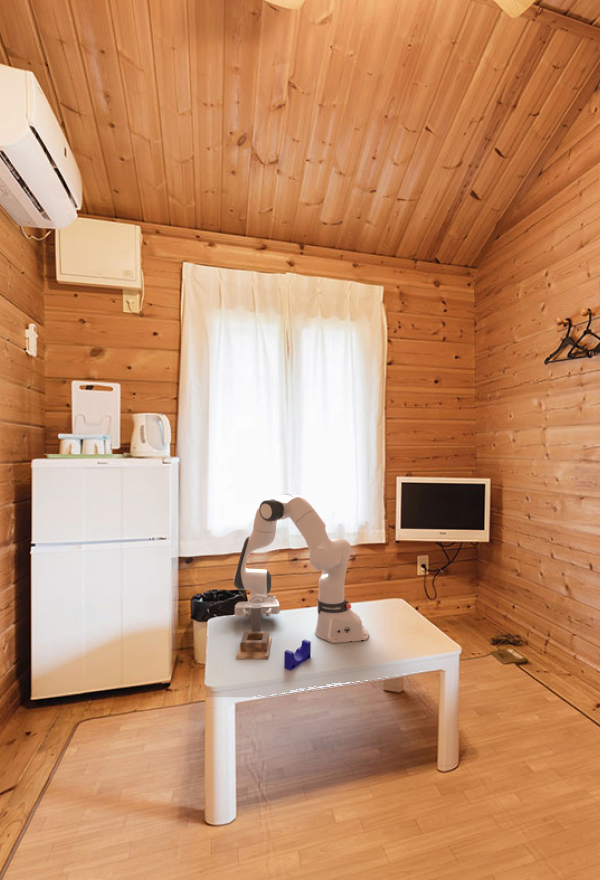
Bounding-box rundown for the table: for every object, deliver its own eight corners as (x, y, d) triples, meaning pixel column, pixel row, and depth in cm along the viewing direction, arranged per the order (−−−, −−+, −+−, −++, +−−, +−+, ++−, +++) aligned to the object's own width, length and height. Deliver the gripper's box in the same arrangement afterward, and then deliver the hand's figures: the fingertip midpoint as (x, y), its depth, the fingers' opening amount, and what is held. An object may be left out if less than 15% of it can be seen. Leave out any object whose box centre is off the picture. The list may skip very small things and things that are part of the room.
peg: (260, 633, 172) (261, 604, 172) (260, 637, 168) (260, 607, 168) (251, 633, 171) (251, 604, 172) (251, 637, 168) (251, 608, 168)
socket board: (271, 639, 166) (271, 628, 166) (268, 658, 150) (268, 646, 150) (242, 639, 166) (242, 628, 166) (236, 658, 150) (236, 646, 150)
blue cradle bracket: (301, 654, 153) (301, 638, 154) (310, 657, 151) (310, 641, 151) (281, 667, 144) (281, 650, 144) (290, 671, 141) (290, 653, 141)
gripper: (235, 597, 189) (232, 608, 175) (279, 596, 190) (279, 606, 176) (235, 611, 188) (232, 622, 174) (279, 609, 190) (279, 621, 176)
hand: (256, 614), depth 175 cm, fingers open, 8 cm apart
